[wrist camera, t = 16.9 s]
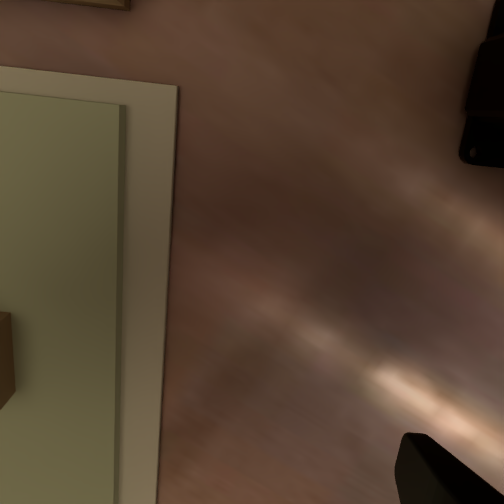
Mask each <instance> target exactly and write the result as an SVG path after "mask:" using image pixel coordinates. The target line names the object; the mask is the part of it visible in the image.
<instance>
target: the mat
mask: <svg viewBox="0 0 504 504" xmlns="http://www.w3.org/2000/svg"><path fill="white" fill-rule="evenodd" d="M0 91H4V92H13V93H22V94H31V95H40V96H49V97H57V98H66V99H75V100H84V101H93V102H102V103H111V104H120V105H126V133H125V185H124V238H123V291H122V343H121V396H120V449H119V502H118V504H157V489H158V470H159V451H160V432H161V413H162V394H163V376H164V357H165V338H166V319H167V300H168V281H169V262H170V243H171V224H172V205H173V186H174V167H175V148H176V129H177V110H178V91H179V86H174V85H165V84H156V83H147V82H138V81H130V80H121V79H112V78H103V77H94V76H86V75H77V74H68V73H59V72H50V71H42V70H33V69H24V68H15V67H6V66H0Z"/></svg>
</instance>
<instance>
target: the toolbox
mask: <svg viewBox="0 0 504 504" xmlns="http://www.w3.org/2000/svg"><path fill="white" fill-rule="evenodd" d="M43 1H51V2H60V3H68V4H76V5H85V6H93V7H101V8H110V9H118V10H126V11H130V0H43Z"/></svg>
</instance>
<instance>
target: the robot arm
mask: <svg viewBox="0 0 504 504" xmlns="http://www.w3.org/2000/svg"><path fill="white" fill-rule="evenodd" d="M465 111H466V112H467V114H468V117H467V121H466V125H465V129H464V134H463V138H462V142H461V146H460V150H459V156H460V159H461V160H462V161H463V162H465V163H468V164H472V165H479V166H488V167H497V168H504V0H496V3H495V7H494V11H493V15H492V19H491V23H490V27H489V31H488V36H487V39H486V40H485V41H484V42H483V43H481V45H480V48H479V52H478V56H477V60H476V64H475V69H474V73H473V77H472V81H471V85H470V89H469V93H468V98H467V102H466V106H465ZM474 146H476V148H477V154H476V155H475V156H474V157H472V158H471V156H470V150H471V148H473V147H474ZM395 481H396V485H397V489H398V494H399V498H400V503H401V504H504V495H502V494H501V493H500V492H499V491H497V490H496V489H495V488H494V487H492V486H491V485H490V484H489V483H487V482H486V481H485V480H483V479H482V478H481V477H480V476H478V475H477V474H476V473H475V472H473V471H472V470H471V469H470V468H468V467H467V466H466V465H465V464H463V463H462V462H461V461H460V460H458V459H457V458H456V457H455V456H453V455H452V454H451V453H450V452H448V451H447V450H446V449H445V448H443V447H442V446H441V445H440V444H438V443H437V442H436V441H435V440H433V439H432V438H431V437H429V436H428V435H426V434H422V433H410V432H408V433H405V434H404V435H403V437H402V440H401V444H400V448H399V452H398V456H397V460H396V463H395Z"/></svg>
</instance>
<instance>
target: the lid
mask: <svg viewBox="0 0 504 504" xmlns="http://www.w3.org/2000/svg"><path fill="white" fill-rule="evenodd" d="M125 133H126V105H120V104H111V103H102V102H93V101H84V100H75V99H66V98H57V97H49V96H40V95H31V94H22V93H13V92H4V91H0V504H118V502H119V449H120V396H121V343H122V291H123V238H124V185H125Z"/></svg>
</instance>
